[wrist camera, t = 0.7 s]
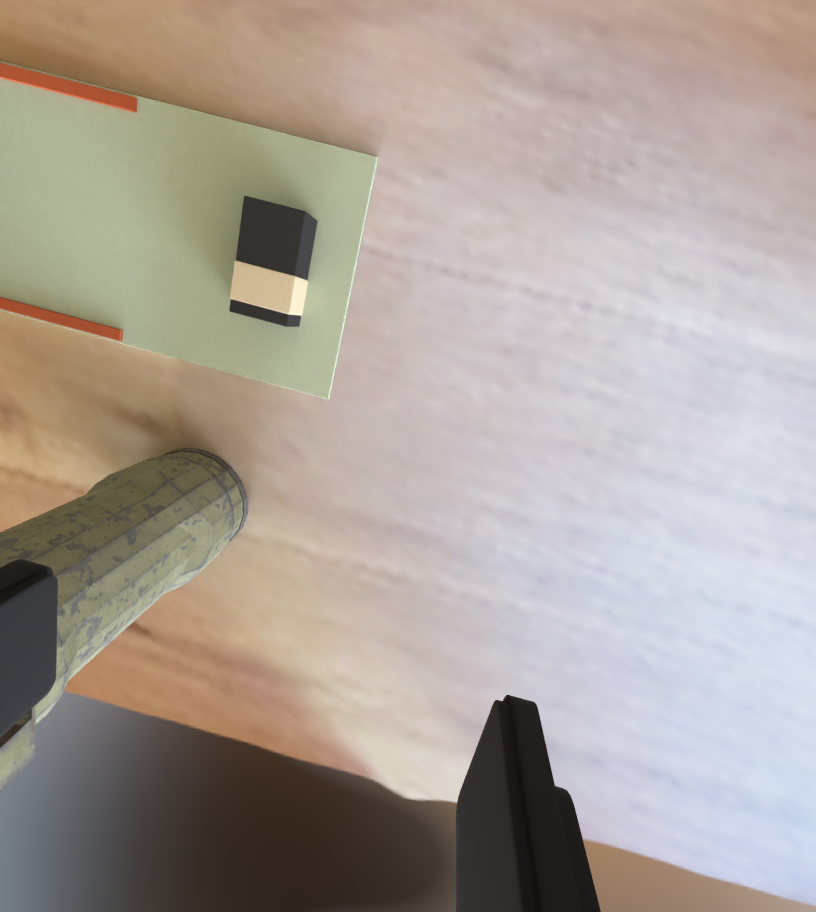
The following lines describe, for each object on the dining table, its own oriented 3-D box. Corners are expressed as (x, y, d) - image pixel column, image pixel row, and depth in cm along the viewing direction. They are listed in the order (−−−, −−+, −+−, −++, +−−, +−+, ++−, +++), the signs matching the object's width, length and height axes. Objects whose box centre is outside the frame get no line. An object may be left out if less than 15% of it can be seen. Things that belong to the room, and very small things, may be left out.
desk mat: (-31, 54, 30) (-42, 48, 29) (378, 158, 29) (376, 154, 28) (-24, 302, 34) (-33, 302, 33) (329, 398, 33) (326, 400, 33)
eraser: (260, 205, 30) (242, 194, 27) (319, 221, 30) (306, 211, 27) (245, 312, 32) (227, 311, 29) (300, 327, 32) (287, 327, 29)
